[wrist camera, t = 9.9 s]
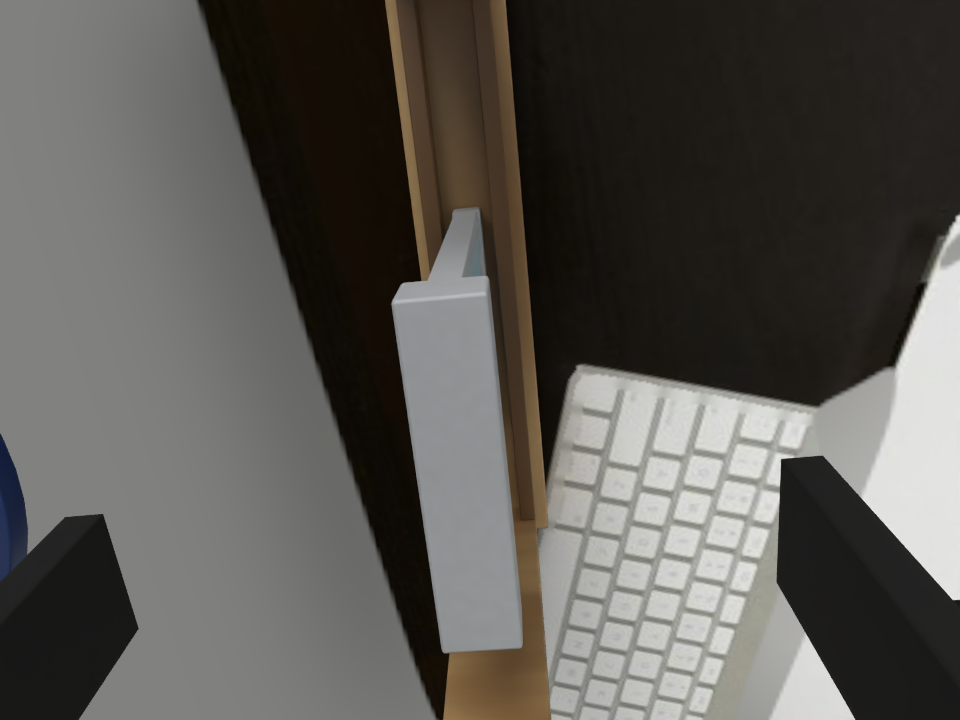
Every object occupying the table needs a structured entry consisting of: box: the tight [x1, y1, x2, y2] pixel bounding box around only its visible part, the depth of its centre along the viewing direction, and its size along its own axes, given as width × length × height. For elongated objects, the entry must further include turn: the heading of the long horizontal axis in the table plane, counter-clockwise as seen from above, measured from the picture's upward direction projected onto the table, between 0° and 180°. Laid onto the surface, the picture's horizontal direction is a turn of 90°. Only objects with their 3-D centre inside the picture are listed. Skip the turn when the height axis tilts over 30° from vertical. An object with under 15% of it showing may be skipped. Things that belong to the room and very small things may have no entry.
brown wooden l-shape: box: [385, 0, 551, 720], centre depth 22 cm, size 4×22×15 cm, turn 6°
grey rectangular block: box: [392, 207, 523, 653], centre depth 23 cm, size 2×9×12 cm, turn 6°
